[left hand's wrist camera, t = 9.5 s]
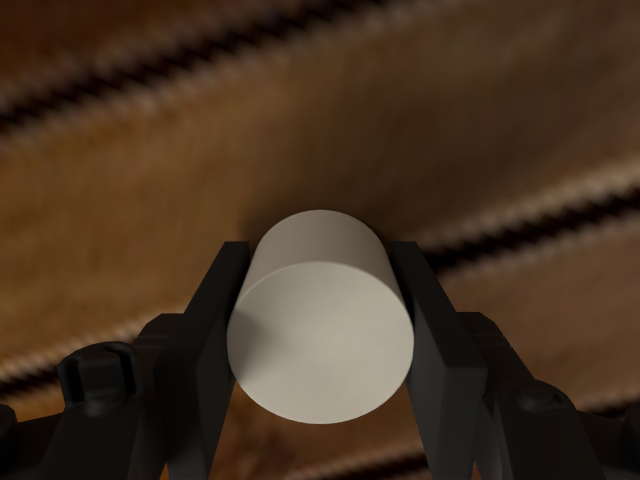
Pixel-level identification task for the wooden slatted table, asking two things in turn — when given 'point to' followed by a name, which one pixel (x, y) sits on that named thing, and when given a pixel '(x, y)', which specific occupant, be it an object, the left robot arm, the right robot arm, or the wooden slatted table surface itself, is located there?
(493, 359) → the left robot arm
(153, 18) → the wooden slatted table surface
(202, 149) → the wooden slatted table surface
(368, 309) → the can
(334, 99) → the wooden slatted table surface
